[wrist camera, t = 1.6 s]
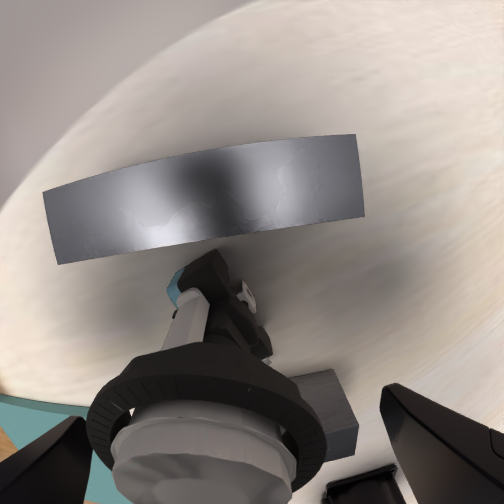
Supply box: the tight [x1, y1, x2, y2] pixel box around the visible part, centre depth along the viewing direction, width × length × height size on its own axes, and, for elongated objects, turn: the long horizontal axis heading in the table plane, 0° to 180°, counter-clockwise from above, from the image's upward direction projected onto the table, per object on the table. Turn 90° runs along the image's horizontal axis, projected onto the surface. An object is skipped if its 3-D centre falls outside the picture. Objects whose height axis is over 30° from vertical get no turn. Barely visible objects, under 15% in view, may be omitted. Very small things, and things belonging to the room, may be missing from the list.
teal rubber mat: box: [0, 394, 133, 504], centre depth 17 cm, size 14×14×1 cm
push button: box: [86, 249, 327, 504], centre depth 9 cm, size 7×5×10 cm
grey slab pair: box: [43, 134, 365, 462], centre depth 12 cm, size 10×19×4 cm, turn 8°
